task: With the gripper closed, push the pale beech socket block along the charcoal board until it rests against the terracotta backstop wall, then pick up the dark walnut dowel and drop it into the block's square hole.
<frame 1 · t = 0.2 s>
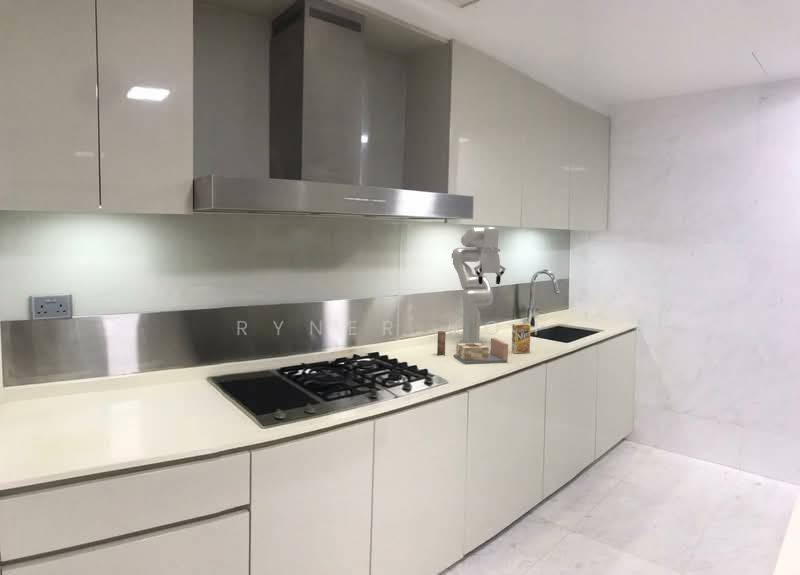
hand: (489, 284, 262), 37 cm above the worktop, tool pointing down, fingers open, 9 cm apart
candy box: (520, 353, 268), on the worktop
socket block: (472, 351, 249), point 4 cm above the worktop, slide at 7.0 cm
rail board: (479, 359, 250), on the worktop
dowel: (441, 354, 259), on the worktop
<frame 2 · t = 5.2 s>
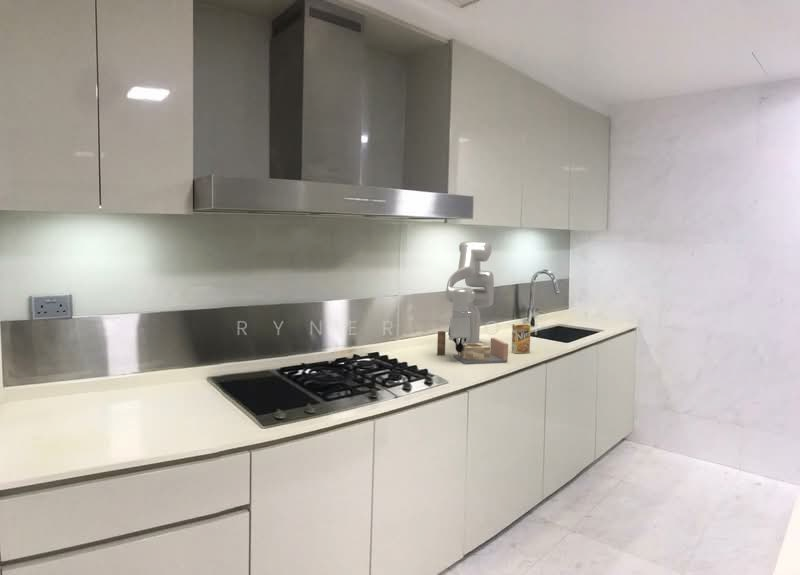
hand: (459, 351, 246), 5 cm above the worktop, tool pointing down, fingers closed
socket block: (473, 351, 249), point 4 cm above the worktop, slide at 6.0 cm, touching gripper
everything else where it was.
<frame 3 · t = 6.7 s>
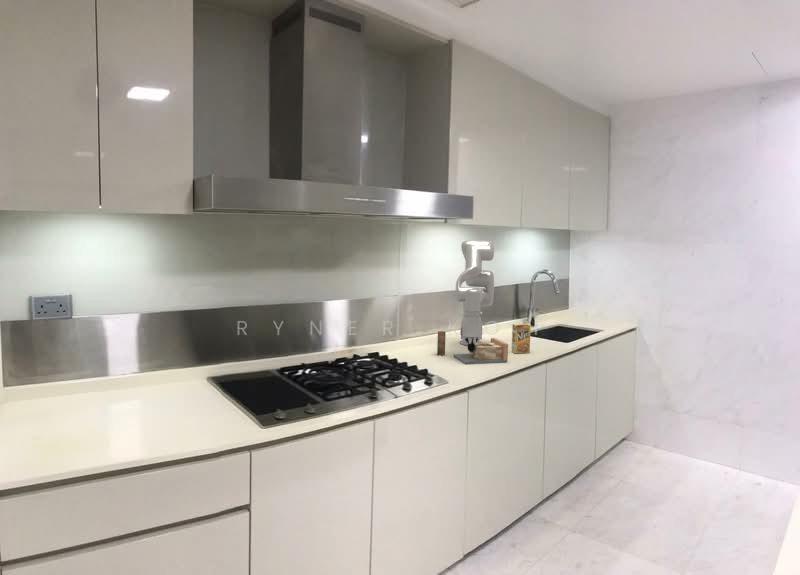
hand: (470, 351, 248), 5 cm above the worktop, tool pointing down, fingers closed
socket block: (485, 351, 251), point 4 cm above the worktop, slide at -0.1 cm, touching gripper
everything else where it was.
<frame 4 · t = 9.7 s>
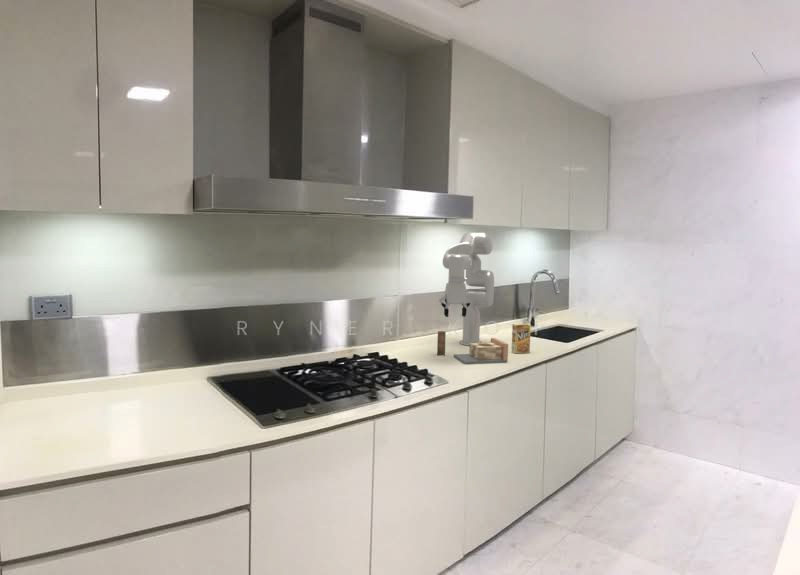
hand: (455, 316, 244), 22 cm above the worktop, tool pointing down, fingers open, 8 cm apart
socket block: (485, 351, 250), point 4 cm above the worktop, slide at 0.0 cm
everything else where it was.
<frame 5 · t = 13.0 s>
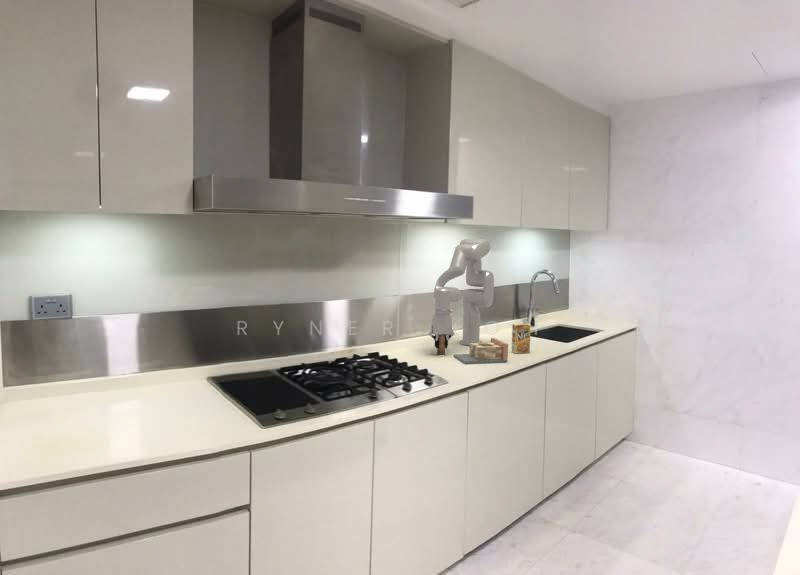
hand: (441, 347, 259), 4 cm above the worktop, tool pointing down, fingers closed on dowel, 4 cm apart
dowel: (441, 354, 259), on the worktop, touching gripper
everything else where it was.
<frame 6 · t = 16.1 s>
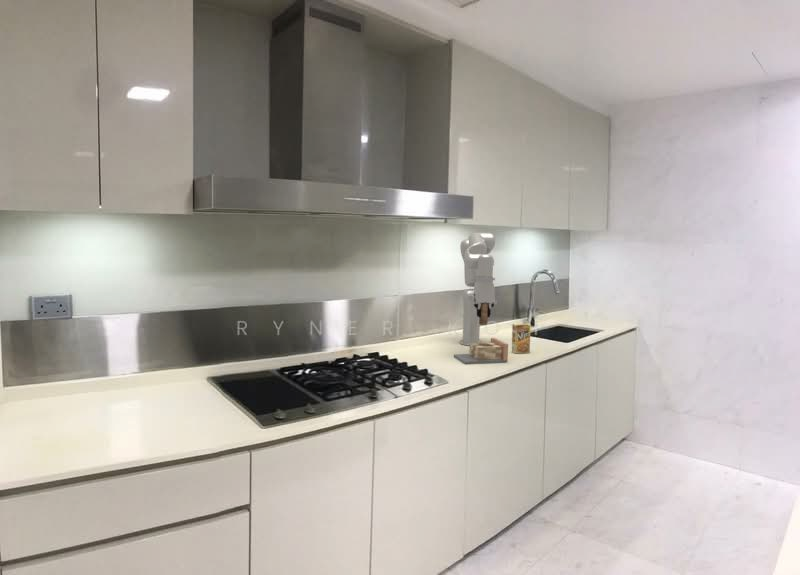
hand: (483, 316, 249), 21 cm above the worktop, tool pointing down, fingers closed on dowel, 4 cm apart
dowel: (483, 324, 250), point 18 cm above the worktop, touching gripper
everything else where it was.
when the fingers open (8 cm above the worktop, at t = 19.1 s): dowel drops 2 cm, resting on socket block.
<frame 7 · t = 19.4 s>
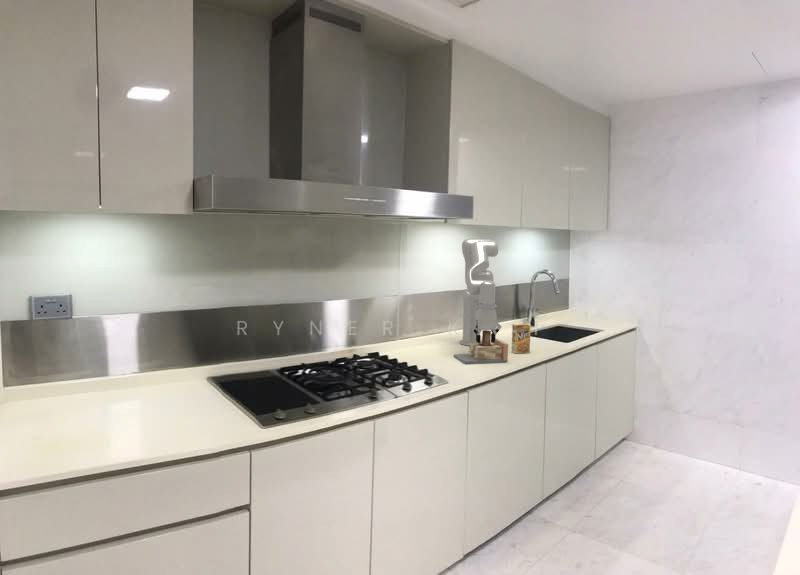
hand: (485, 342, 250), 9 cm above the worktop, tool pointing down, fingers open, 7 cm apart
socket block: (485, 351, 250), point 4 cm above the worktop, slide at 0.0 cm, touching dowel
dowel: (485, 354, 251), point 2 cm above the worktop, touching socket block
everything else where it was.
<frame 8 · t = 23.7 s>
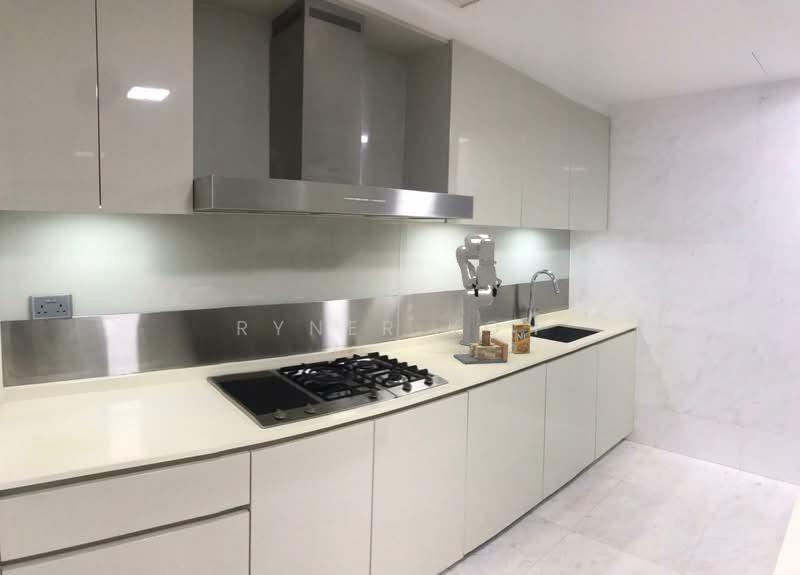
hand: (485, 296, 259), 30 cm above the worktop, tool pointing down, fingers open, 9 cm apart
nothing on the worktop moved.
at the end: socket block slide at 0.0 cm; dowel 0.1 cm off-centre on the socket block, point 1.0 cm above the socket block's base; dowel tilted 1° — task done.
